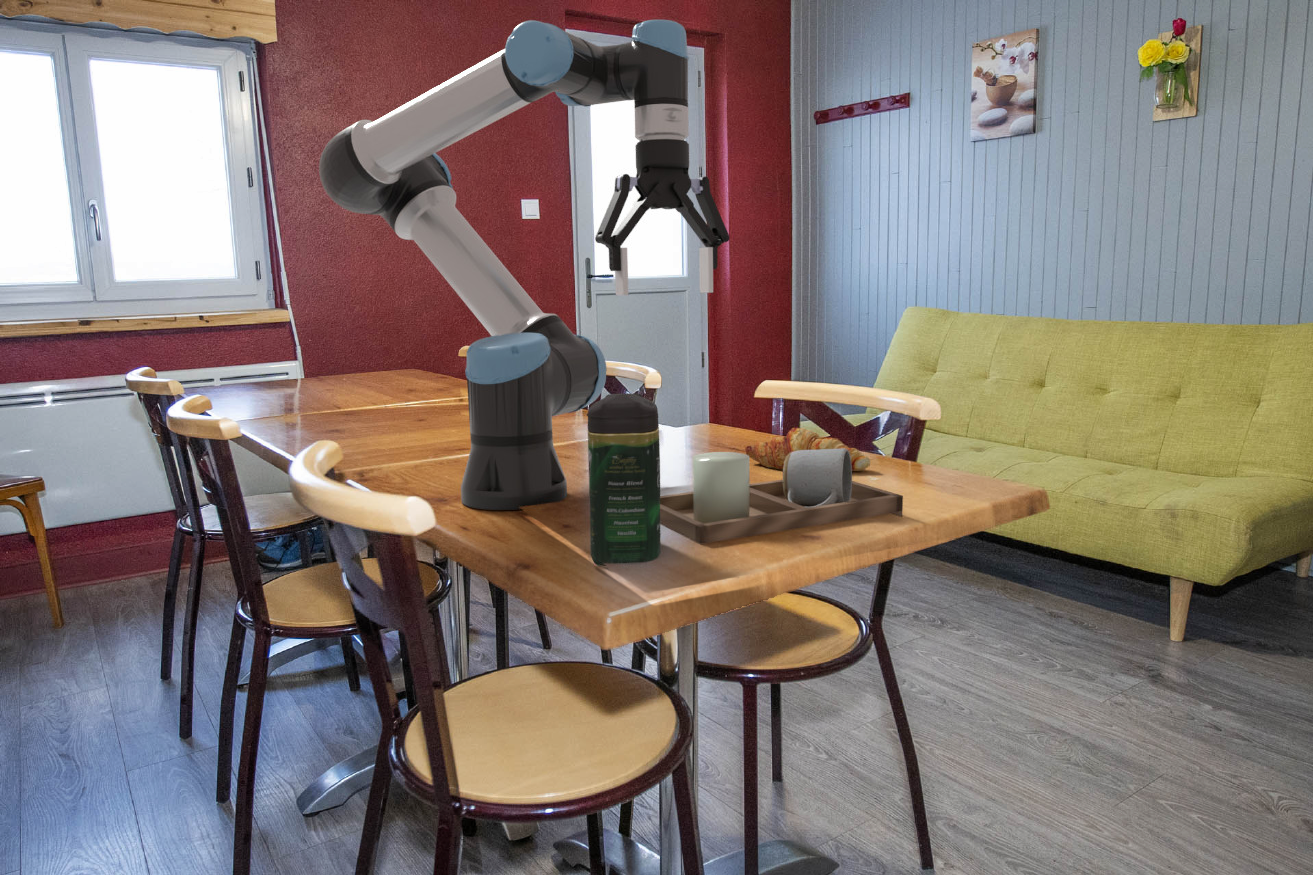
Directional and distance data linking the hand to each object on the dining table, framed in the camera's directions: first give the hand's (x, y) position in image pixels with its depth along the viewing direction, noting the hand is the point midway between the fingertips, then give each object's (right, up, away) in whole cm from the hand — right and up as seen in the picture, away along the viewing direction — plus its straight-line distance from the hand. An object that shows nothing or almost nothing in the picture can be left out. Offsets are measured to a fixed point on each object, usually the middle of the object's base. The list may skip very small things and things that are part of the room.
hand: (665, 294), depth 134 cm
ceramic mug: (+20, -30, -13) cm, 38 cm away
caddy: (+13, -31, -14) cm, 37 cm away
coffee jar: (-5, -34, -29) cm, 46 cm away
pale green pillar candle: (+7, -31, -18) cm, 36 cm away
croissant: (+23, -26, +18) cm, 39 cm away
